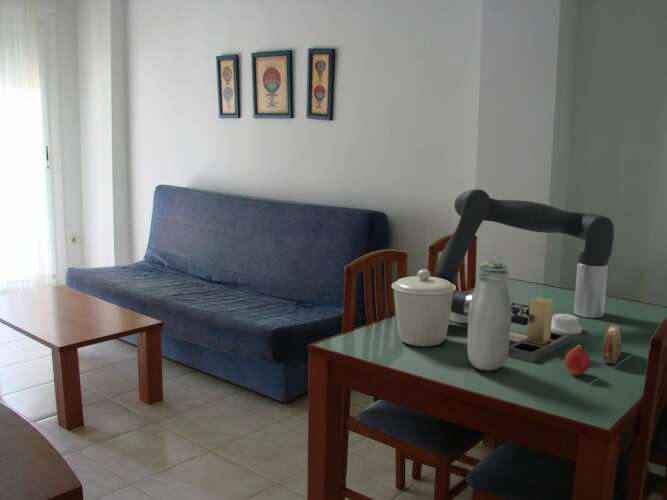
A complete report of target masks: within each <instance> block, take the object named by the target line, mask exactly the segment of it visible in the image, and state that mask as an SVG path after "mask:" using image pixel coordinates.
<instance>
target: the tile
mask: <svg viewBox="0 0 667 500" xmlns="http://www.w3.org/2000/svg"><path fill="white" fill-rule="evenodd" d="M527 337H528V335H525V334H520V333H517V332H516V333H515V332H512V331H510V335H509V342H510V341H511V342H515V343H516V342H519V341H521V340H523V339H525V338H527Z"/></svg>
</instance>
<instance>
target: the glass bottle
mask: <svg viewBox="0 0 667 500" xmlns="http://www.w3.org/2000/svg"><path fill="white" fill-rule="evenodd" d="M476 277H477V278H476V281H475V286H474V289H473V292H472V293H473V294H472V297H471V300H470V304H469V314H468V323H467V357H468V360H469V362H470V363H471V365H472V366H473V367H474V368H475V369H478V370H480V371H484V372H489V371H490V372H491V371H496V370H498V369H500V368H502V367H503V366H504V364H505V363H506V361H507V359H508V357H509V356H508V350H509V346H510V340H509V335H510V333H511V326H512V324H511V305H512V303H511V299H510V294H509V290H508V287H509V286H508V280H509V279H508V277H509V271H508V268H507V265H506V264H505V263H504V262H502V261H501V260H485V261H483V262H482V263H480V264H479V265H478V268H477V272H476Z"/></svg>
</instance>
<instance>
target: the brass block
mask: <svg viewBox="0 0 667 500" xmlns="http://www.w3.org/2000/svg"><path fill="white" fill-rule="evenodd" d="M553 303H554V300H553V299H550V298H544V297H539V296H537V297H534V298H532V299H530V300H529V305H528V306H529V317H528V325H527V336H528V338H527V342H529V343H533V344H537V345H541V346H545V345H547V344H549V343H550V336H551V332H552V331H551V322H552V316H553V308H554V307H553Z"/></svg>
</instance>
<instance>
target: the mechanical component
mask: <svg viewBox="0 0 667 500" xmlns="http://www.w3.org/2000/svg"><path fill="white" fill-rule="evenodd" d="M551 332H555V333H560V334H564V335H579V334H581V333H583V326H581V325H580V324H579V317H578V316H576V315H575V316H574V315H573V314H568V313H554V315H553V314H552V322H551Z"/></svg>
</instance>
